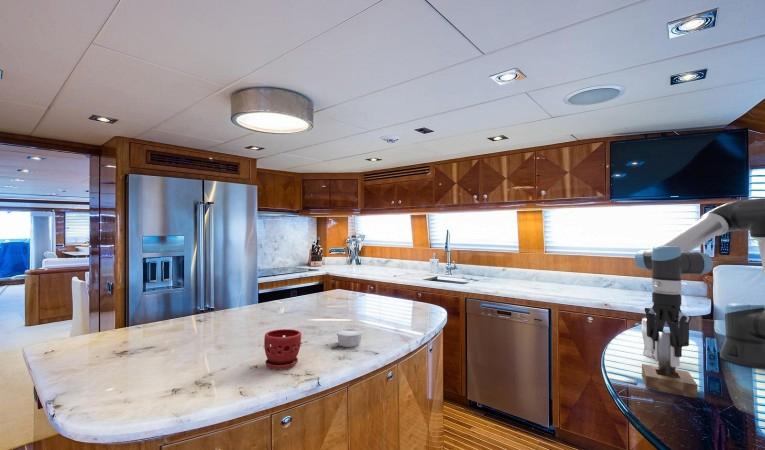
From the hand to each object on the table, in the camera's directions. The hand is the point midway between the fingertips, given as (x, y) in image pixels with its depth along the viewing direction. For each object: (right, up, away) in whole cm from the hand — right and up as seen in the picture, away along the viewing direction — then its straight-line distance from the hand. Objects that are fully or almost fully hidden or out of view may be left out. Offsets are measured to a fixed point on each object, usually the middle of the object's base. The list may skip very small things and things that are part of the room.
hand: (667, 363), depth 114 cm
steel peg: (0, -3, 0) cm, 3 cm away
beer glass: (+18, -9, +29) cm, 35 cm away
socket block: (0, -7, 0) cm, 7 cm away
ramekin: (-109, -8, +40) cm, 116 cm away
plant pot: (-131, -6, +14) cm, 132 cm away
